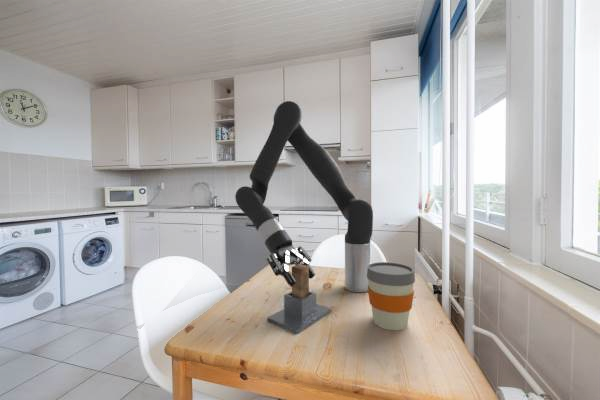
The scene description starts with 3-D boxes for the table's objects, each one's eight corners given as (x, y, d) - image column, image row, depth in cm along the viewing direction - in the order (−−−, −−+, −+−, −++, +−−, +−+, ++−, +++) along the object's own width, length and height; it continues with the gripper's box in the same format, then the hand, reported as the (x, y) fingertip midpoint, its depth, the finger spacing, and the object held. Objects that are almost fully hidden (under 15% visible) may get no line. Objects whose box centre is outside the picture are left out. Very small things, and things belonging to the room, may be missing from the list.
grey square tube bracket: (302, 302, 87) (302, 282, 87) (331, 311, 80) (331, 290, 80) (267, 321, 75) (266, 298, 75) (297, 334, 68) (297, 308, 68)
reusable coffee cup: (359, 325, 72) (359, 270, 72) (375, 308, 82) (375, 259, 82) (409, 339, 65) (409, 278, 64) (419, 318, 75) (419, 266, 75)
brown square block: (299, 303, 80) (299, 264, 80) (309, 307, 78) (308, 266, 77) (292, 308, 77) (291, 266, 77) (301, 311, 75) (301, 268, 75)
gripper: (263, 231, 76) (294, 280, 69) (295, 226, 87) (325, 267, 80) (251, 248, 79) (279, 295, 72) (284, 240, 90) (311, 281, 83)
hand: (303, 280), depth 76 cm, fingers open, 8 cm apart
